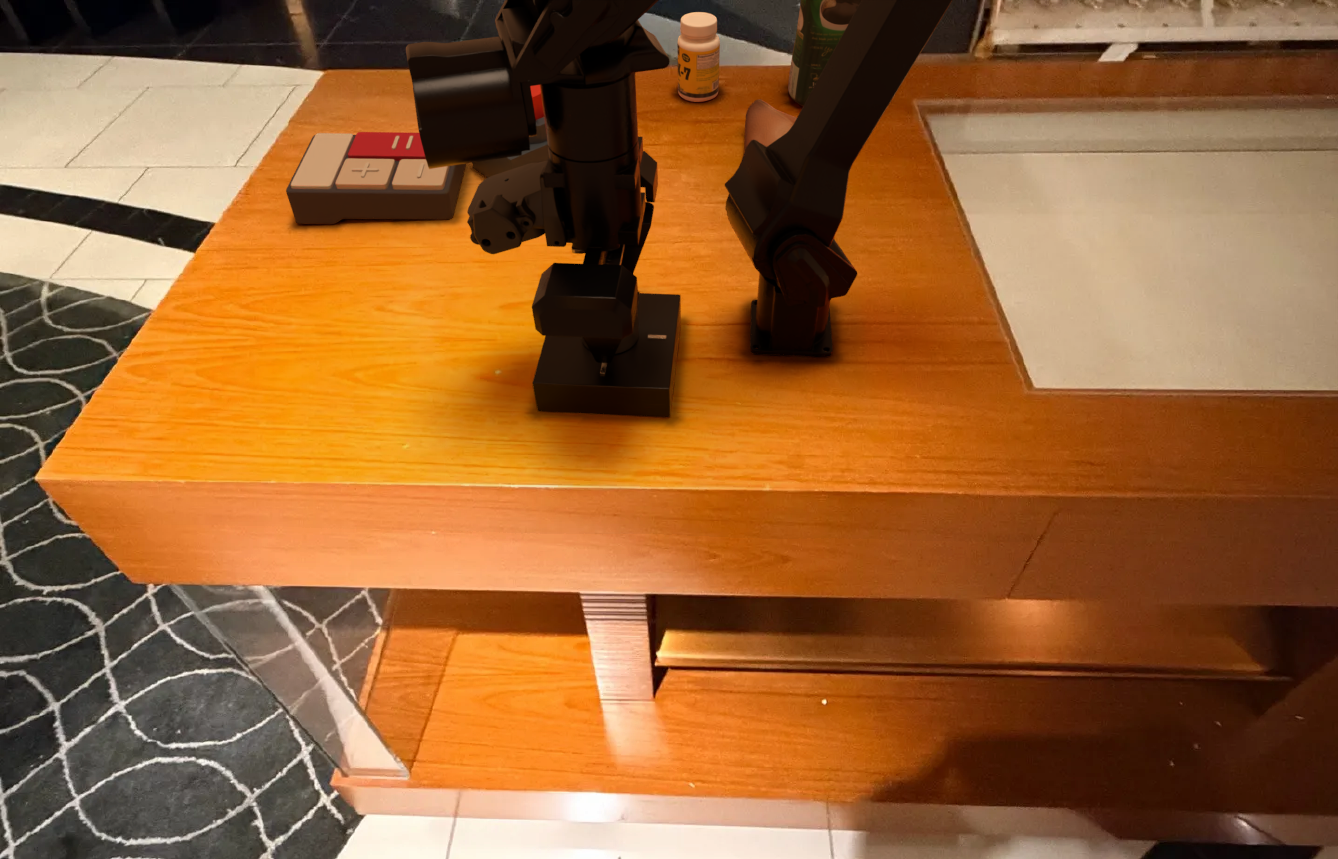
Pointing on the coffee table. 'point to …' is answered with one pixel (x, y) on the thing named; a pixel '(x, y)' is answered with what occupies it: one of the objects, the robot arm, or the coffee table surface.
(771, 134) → the sunglasses case
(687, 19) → the supplement bottle
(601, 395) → the panel
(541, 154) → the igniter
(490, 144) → the robot arm
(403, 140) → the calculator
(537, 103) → the button
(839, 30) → the coffee jar
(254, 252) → the coffee table surface
